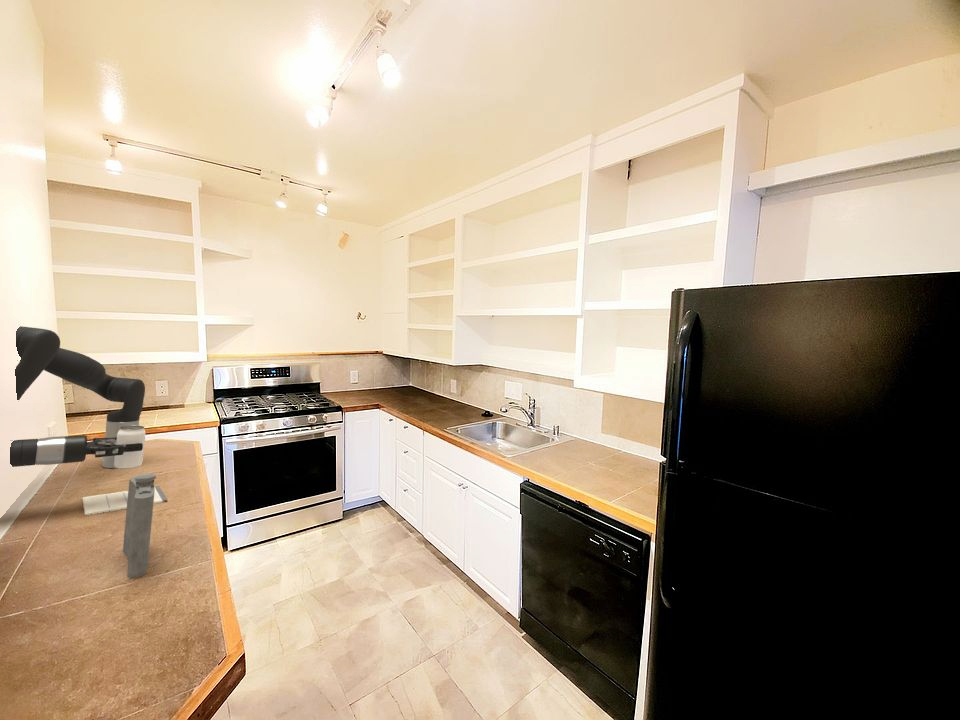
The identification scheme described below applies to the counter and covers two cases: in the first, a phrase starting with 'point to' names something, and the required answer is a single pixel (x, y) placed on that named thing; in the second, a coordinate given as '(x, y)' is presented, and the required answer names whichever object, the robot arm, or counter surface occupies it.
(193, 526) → the counter surface
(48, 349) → the robot arm
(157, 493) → the notepad
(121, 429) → the can
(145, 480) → the grey upright slab
